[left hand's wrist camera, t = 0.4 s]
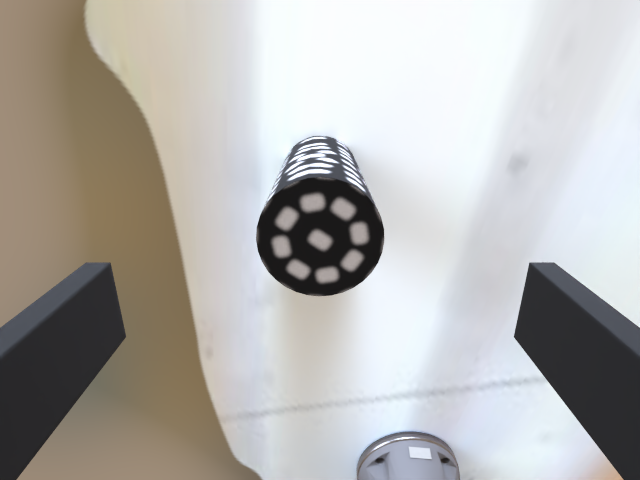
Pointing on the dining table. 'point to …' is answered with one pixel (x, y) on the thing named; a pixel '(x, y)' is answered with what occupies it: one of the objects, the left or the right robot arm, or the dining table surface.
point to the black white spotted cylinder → (320, 221)
